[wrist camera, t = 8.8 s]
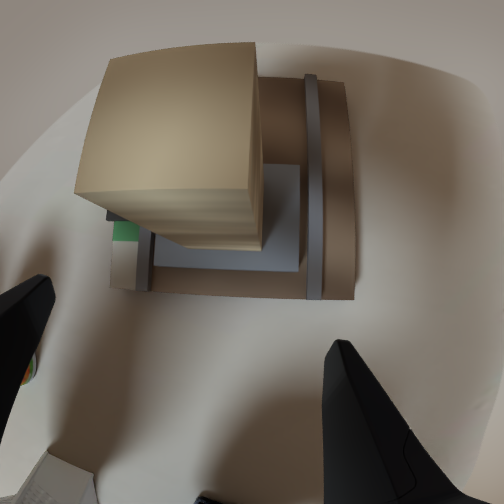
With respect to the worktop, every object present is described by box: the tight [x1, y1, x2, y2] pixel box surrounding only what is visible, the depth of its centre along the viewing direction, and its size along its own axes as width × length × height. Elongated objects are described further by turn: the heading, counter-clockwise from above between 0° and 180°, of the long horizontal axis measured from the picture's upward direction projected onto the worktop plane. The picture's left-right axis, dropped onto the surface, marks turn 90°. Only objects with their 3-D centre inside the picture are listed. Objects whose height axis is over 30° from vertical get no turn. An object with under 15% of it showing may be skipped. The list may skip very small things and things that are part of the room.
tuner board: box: [110, 74, 355, 300], centre depth 19 cm, size 15×15×2 cm
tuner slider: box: [74, 42, 300, 272], centre depth 12 cm, size 6×12×12 cm, turn 88°
